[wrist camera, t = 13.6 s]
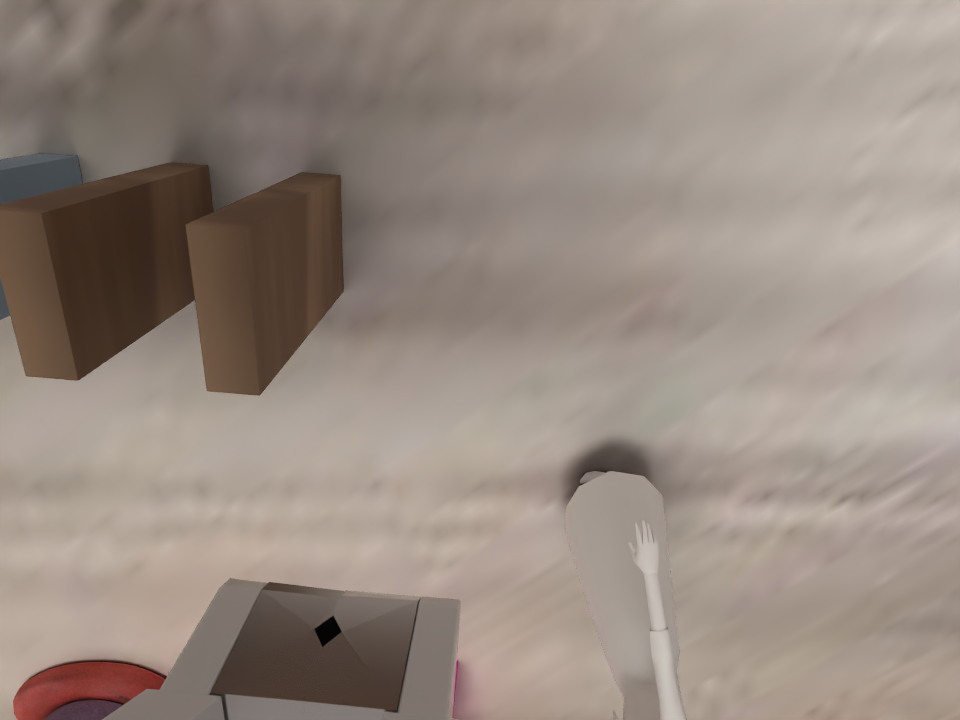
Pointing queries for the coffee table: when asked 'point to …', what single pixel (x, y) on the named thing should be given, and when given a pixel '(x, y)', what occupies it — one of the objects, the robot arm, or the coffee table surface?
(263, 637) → the robot arm
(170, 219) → the domino
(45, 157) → the domino
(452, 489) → the coffee table surface
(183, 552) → the coffee table surface
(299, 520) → the coffee table surface
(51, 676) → the stacking bear
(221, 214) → the domino
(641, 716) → the woman figurine
